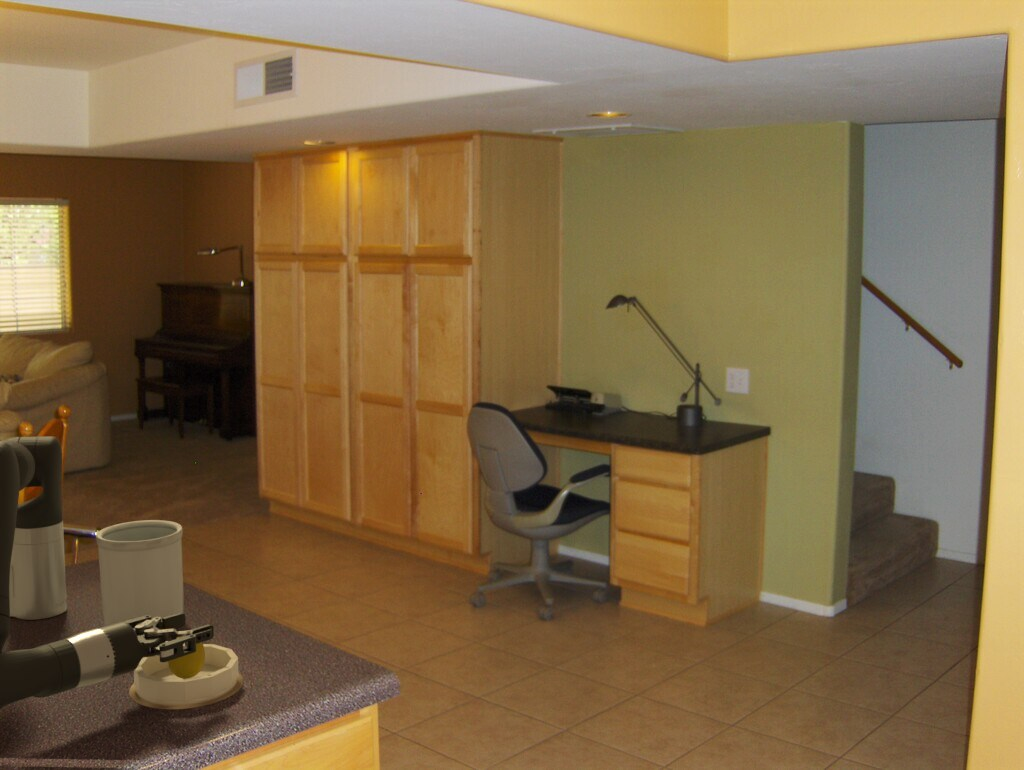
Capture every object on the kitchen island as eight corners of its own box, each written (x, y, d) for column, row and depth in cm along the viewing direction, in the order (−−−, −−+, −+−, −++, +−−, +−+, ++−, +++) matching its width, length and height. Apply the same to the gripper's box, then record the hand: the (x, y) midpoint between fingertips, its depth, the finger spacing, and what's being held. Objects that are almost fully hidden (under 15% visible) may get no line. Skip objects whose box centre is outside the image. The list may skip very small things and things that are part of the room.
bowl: (121, 705, 159) (120, 680, 159) (155, 665, 174) (154, 643, 173) (222, 706, 159) (221, 682, 159) (247, 667, 174) (246, 644, 173)
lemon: (194, 690, 163) (193, 641, 162) (161, 686, 164) (160, 637, 163) (211, 674, 168) (211, 626, 167) (179, 670, 169) (178, 622, 168)
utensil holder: (83, 635, 189) (79, 539, 187) (123, 607, 204) (120, 517, 201) (163, 640, 187) (160, 543, 185) (198, 611, 202) (195, 521, 200)
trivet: (112, 713, 158) (112, 708, 158) (151, 668, 175) (151, 663, 175) (227, 715, 158) (227, 709, 158) (255, 669, 175) (255, 664, 175)
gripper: (124, 642, 149) (224, 612, 162) (72, 618, 159) (171, 591, 171) (125, 693, 150) (225, 659, 163) (74, 666, 160) (172, 636, 172)
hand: (197, 624), depth 167 cm, fingers open, 7 cm apart
